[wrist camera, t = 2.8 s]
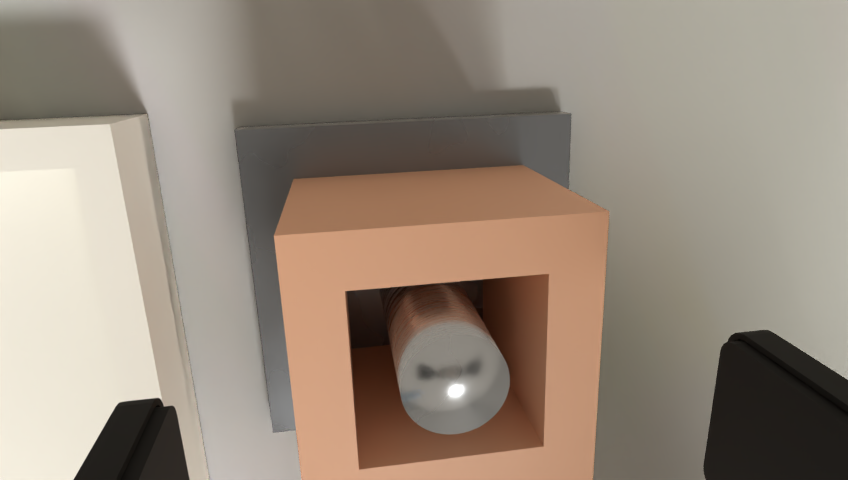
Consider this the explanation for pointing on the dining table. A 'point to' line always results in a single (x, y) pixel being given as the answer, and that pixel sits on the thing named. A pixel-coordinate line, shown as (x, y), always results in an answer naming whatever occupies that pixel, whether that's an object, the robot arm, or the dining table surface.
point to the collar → (440, 263)
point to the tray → (84, 293)
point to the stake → (406, 305)
